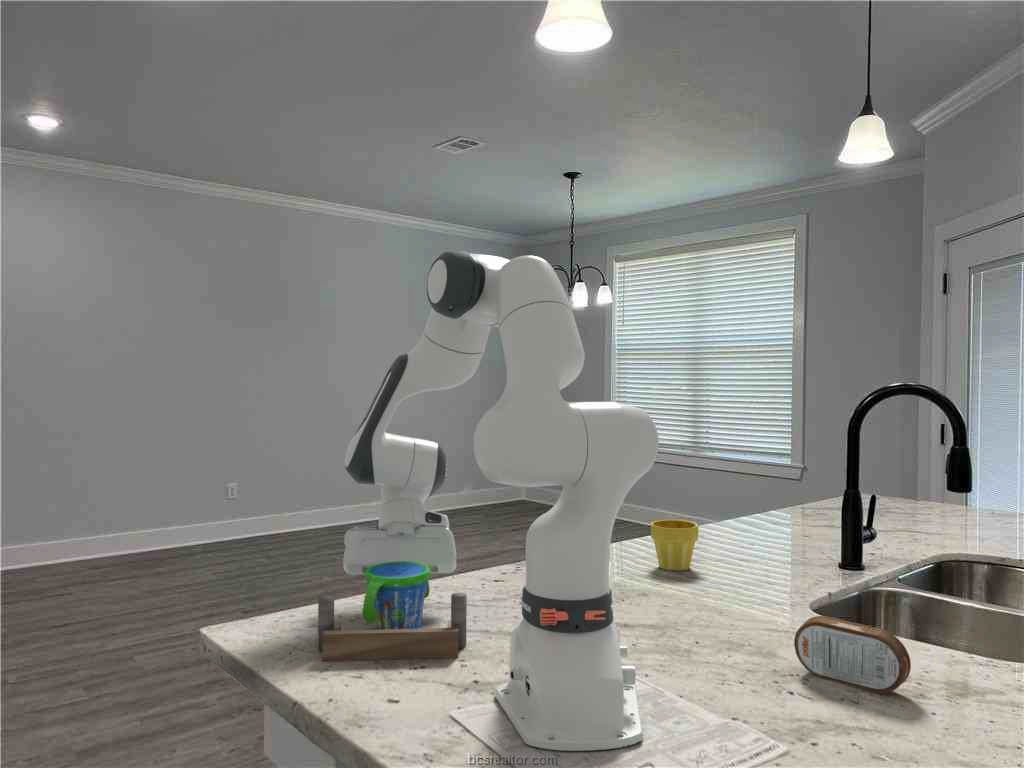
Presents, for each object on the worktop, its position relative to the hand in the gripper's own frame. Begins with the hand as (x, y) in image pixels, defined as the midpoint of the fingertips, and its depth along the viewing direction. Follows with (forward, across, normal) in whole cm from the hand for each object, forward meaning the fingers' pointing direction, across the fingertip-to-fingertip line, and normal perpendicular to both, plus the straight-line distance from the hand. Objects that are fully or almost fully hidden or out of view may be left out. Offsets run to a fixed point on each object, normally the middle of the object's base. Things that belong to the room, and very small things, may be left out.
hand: (399, 593), depth 134 cm
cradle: (+14, 0, -8) cm, 16 cm away
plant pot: (-18, +59, +25) cm, 66 cm away
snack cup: (+8, 0, -2) cm, 8 cm away
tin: (+27, +64, -20) cm, 72 cm away
